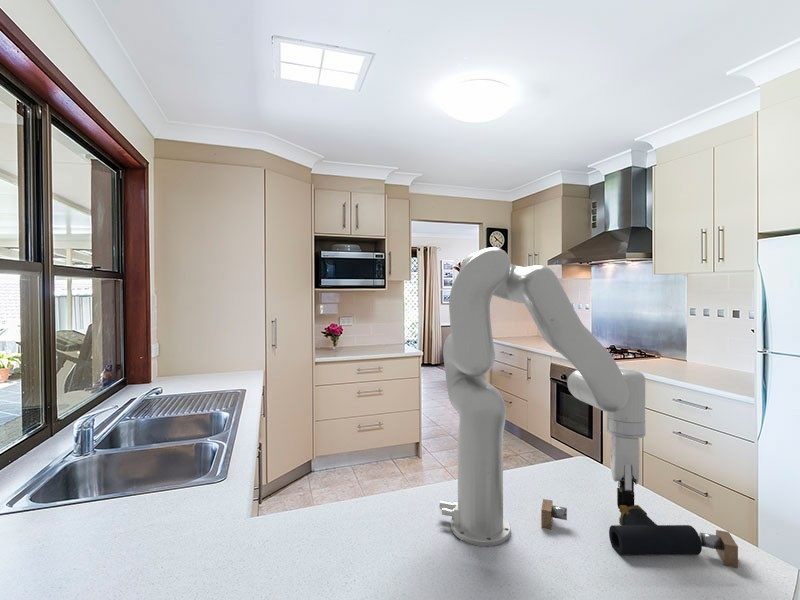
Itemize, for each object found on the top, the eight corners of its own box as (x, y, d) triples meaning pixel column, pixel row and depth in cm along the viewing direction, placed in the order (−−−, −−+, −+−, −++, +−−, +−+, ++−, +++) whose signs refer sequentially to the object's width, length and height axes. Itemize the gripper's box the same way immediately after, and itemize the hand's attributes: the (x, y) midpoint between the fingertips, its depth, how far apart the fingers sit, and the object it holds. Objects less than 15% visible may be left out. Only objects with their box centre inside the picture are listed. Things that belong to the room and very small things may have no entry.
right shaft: (704, 561, 77) (704, 540, 77) (697, 546, 82) (697, 526, 81) (738, 568, 75) (738, 546, 75) (728, 552, 80) (728, 532, 80)
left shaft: (541, 528, 88) (541, 509, 88) (543, 516, 93) (543, 498, 93) (566, 533, 86) (566, 514, 86) (566, 521, 91) (566, 503, 91)
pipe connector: (594, 502, 89) (663, 502, 89) (593, 526, 89) (663, 526, 89) (622, 534, 78) (702, 534, 78) (622, 561, 78) (701, 561, 78)
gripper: (604, 415, 99) (604, 490, 100) (609, 434, 86) (609, 522, 86) (640, 418, 96) (640, 496, 97) (650, 439, 83) (650, 529, 83)
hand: (625, 508), depth 91 cm, fingers closed
